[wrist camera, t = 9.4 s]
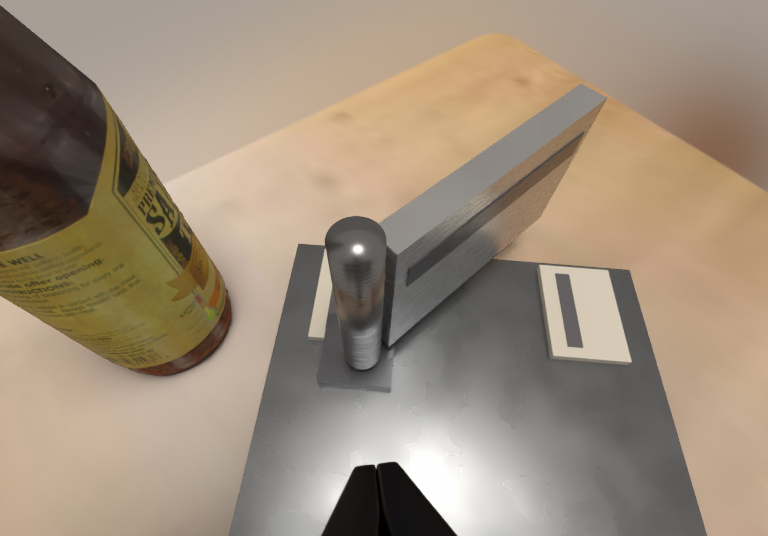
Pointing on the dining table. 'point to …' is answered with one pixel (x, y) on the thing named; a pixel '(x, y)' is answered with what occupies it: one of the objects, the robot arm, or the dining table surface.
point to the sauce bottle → (95, 222)
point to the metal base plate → (469, 419)
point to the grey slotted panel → (449, 228)
